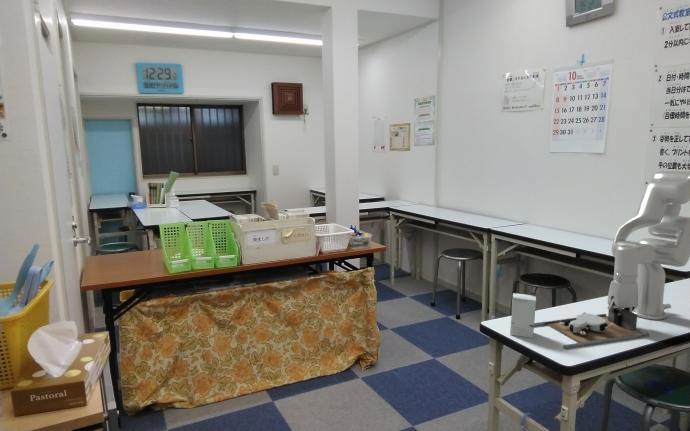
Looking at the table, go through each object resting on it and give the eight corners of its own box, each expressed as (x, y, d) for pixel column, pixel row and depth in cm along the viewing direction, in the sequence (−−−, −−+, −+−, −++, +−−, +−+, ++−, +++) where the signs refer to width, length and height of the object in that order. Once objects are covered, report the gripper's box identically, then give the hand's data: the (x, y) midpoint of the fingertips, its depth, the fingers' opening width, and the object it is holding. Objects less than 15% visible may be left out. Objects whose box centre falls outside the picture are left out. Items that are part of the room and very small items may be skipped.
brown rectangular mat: (607, 317, 180) (608, 301, 179) (646, 335, 162) (648, 318, 161) (547, 325, 173) (548, 309, 172) (581, 344, 156) (582, 327, 155)
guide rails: (605, 316, 181) (605, 313, 180) (648, 336, 161) (649, 333, 161) (527, 326, 172) (528, 323, 172) (564, 349, 153) (564, 346, 153)
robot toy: (584, 342, 158) (614, 332, 163) (584, 330, 158) (614, 321, 163) (556, 329, 170) (586, 320, 175) (556, 318, 169) (586, 309, 174)
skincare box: (510, 335, 165) (511, 297, 163) (510, 329, 171) (512, 292, 168) (534, 338, 162) (536, 300, 160) (534, 332, 167) (536, 294, 165)
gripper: (634, 273, 173) (630, 318, 176) (599, 277, 169) (596, 322, 172) (651, 278, 166) (647, 325, 169) (615, 282, 162) (611, 330, 165)
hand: (621, 323), depth 170 cm, fingers closed on brown rectangular mat, 3 cm apart
